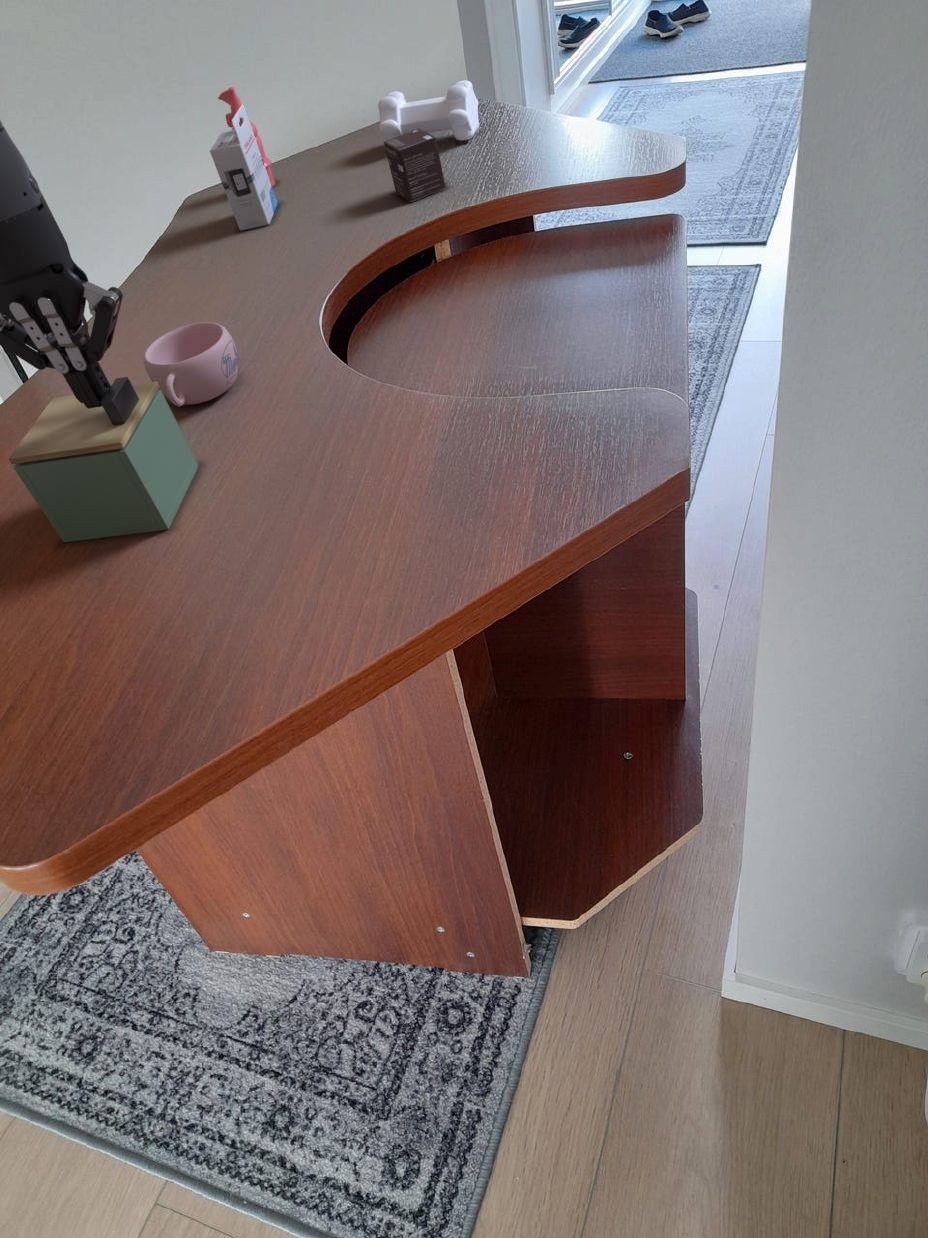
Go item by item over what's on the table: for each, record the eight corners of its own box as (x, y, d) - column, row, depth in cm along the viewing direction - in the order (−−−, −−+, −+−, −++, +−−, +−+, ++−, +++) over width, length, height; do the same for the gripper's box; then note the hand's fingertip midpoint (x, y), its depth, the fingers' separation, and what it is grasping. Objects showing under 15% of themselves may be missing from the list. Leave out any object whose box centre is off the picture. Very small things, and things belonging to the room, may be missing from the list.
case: (168, 529, 83) (124, 451, 77) (63, 542, 86) (12, 467, 80) (198, 465, 90) (160, 389, 84) (100, 479, 93) (56, 405, 87)
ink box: (249, 210, 143) (212, 109, 133) (279, 203, 142) (244, 101, 132) (239, 231, 137) (199, 127, 127) (269, 225, 136) (232, 119, 126)
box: (395, 193, 135) (382, 141, 129) (431, 179, 136) (419, 127, 130) (410, 203, 130) (397, 149, 125) (447, 189, 131) (436, 135, 126)
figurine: (243, 194, 149) (207, 95, 139) (256, 182, 152) (222, 84, 142) (270, 191, 147) (235, 90, 137) (282, 178, 151) (249, 79, 140)
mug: (182, 371, 106) (160, 325, 102) (259, 362, 104) (239, 314, 100) (143, 429, 98) (118, 382, 94) (226, 420, 96) (203, 371, 92)
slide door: (124, 448, 77) (107, 418, 75) (11, 464, 79) (-8, 436, 77) (159, 386, 84) (145, 357, 82) (55, 403, 86) (39, 375, 84)
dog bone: (384, 158, 147) (371, 104, 142) (400, 138, 153) (387, 86, 147) (471, 146, 143) (461, 89, 137) (484, 126, 148) (474, 71, 143)
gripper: (-110, 240, 67) (16, 436, 79) (49, 209, 64) (154, 416, 76) (-62, 201, 72) (49, 390, 84) (87, 171, 69) (180, 370, 81)
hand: (99, 402), depth 80 cm, fingers closed
